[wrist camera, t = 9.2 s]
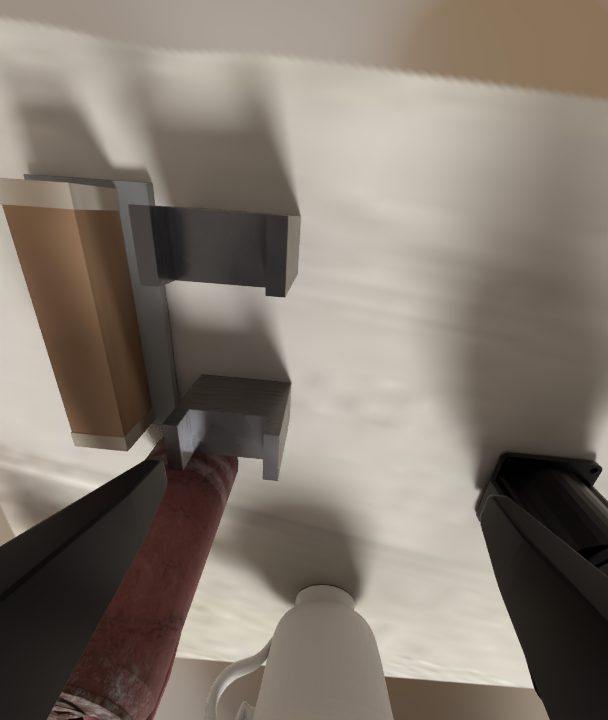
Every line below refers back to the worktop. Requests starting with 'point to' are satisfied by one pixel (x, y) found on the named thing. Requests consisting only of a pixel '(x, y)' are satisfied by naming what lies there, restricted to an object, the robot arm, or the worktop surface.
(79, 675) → the can
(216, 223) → the post
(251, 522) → the worktop surface
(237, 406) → the post
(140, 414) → the rail
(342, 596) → the teacup
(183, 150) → the worktop surface
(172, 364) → the mat
